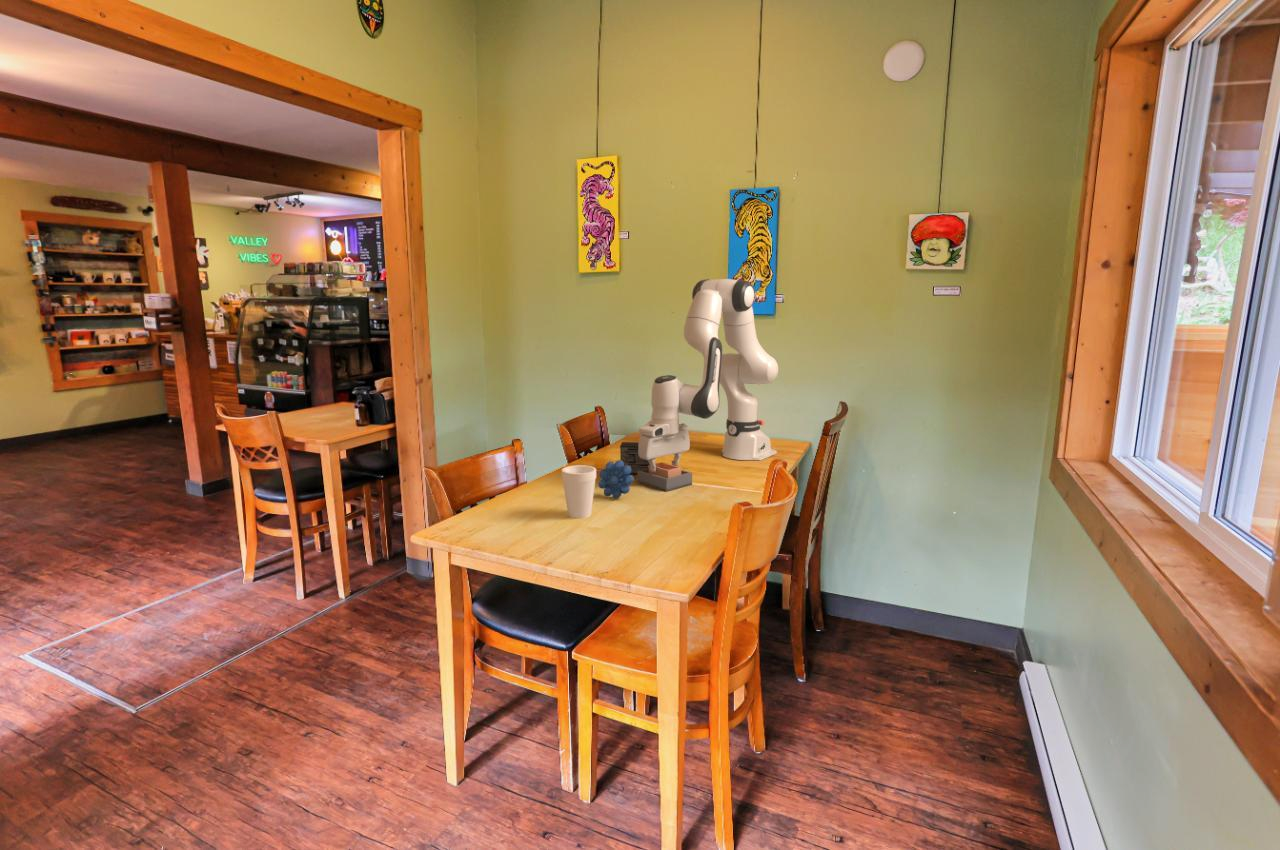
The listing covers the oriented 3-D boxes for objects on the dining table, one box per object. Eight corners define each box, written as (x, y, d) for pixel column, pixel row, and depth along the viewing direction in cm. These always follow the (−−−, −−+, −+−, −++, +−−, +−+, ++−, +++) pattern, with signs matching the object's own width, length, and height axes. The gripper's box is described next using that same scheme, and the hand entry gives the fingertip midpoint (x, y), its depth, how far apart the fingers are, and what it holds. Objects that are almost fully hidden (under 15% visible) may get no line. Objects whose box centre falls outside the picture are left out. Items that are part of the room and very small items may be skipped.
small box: (652, 471, 224) (652, 441, 222) (650, 476, 218) (650, 445, 216) (622, 470, 225) (622, 441, 223) (619, 475, 219) (619, 445, 217)
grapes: (639, 496, 195) (639, 458, 192) (629, 503, 189) (629, 463, 186) (605, 492, 199) (605, 454, 197) (595, 498, 193) (594, 459, 191)
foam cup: (569, 522, 172) (568, 475, 170) (557, 512, 180) (556, 467, 178) (602, 516, 177) (601, 471, 174) (588, 507, 185) (588, 463, 182)
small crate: (661, 476, 214) (661, 462, 213) (681, 482, 207) (681, 467, 206) (648, 480, 210) (648, 465, 209) (667, 485, 203) (668, 470, 202)
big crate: (662, 476, 217) (662, 464, 216) (692, 484, 207) (692, 472, 207) (637, 482, 210) (637, 470, 209) (666, 491, 200) (666, 479, 199)
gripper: (680, 421, 214) (680, 461, 217) (635, 429, 201) (635, 472, 203) (694, 423, 209) (693, 464, 212) (648, 432, 196) (648, 476, 199)
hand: (664, 468), depth 208 cm, fingers open, 8 cm apart
